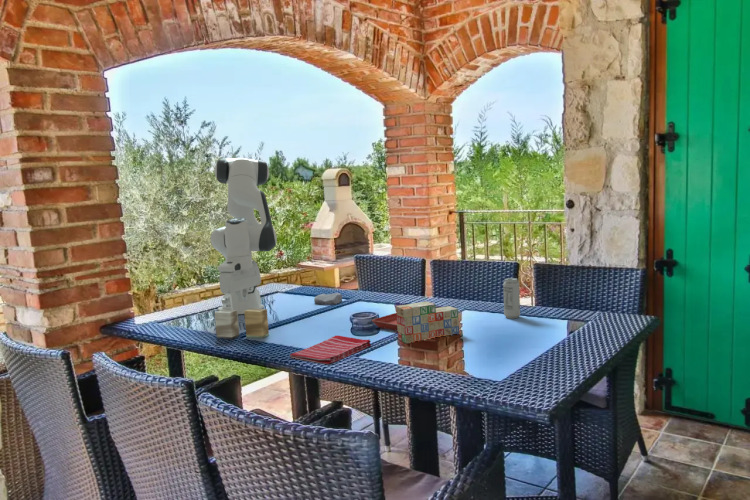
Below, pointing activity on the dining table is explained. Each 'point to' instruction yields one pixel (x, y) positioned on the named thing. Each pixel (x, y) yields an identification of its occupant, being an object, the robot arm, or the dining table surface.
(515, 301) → the energy drink can
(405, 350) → the dining table surface
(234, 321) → the pine block
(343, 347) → the dish towel
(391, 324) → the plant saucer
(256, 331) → the oak block
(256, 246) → the robot arm
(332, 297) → the stone block
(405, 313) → the stack of blocks
